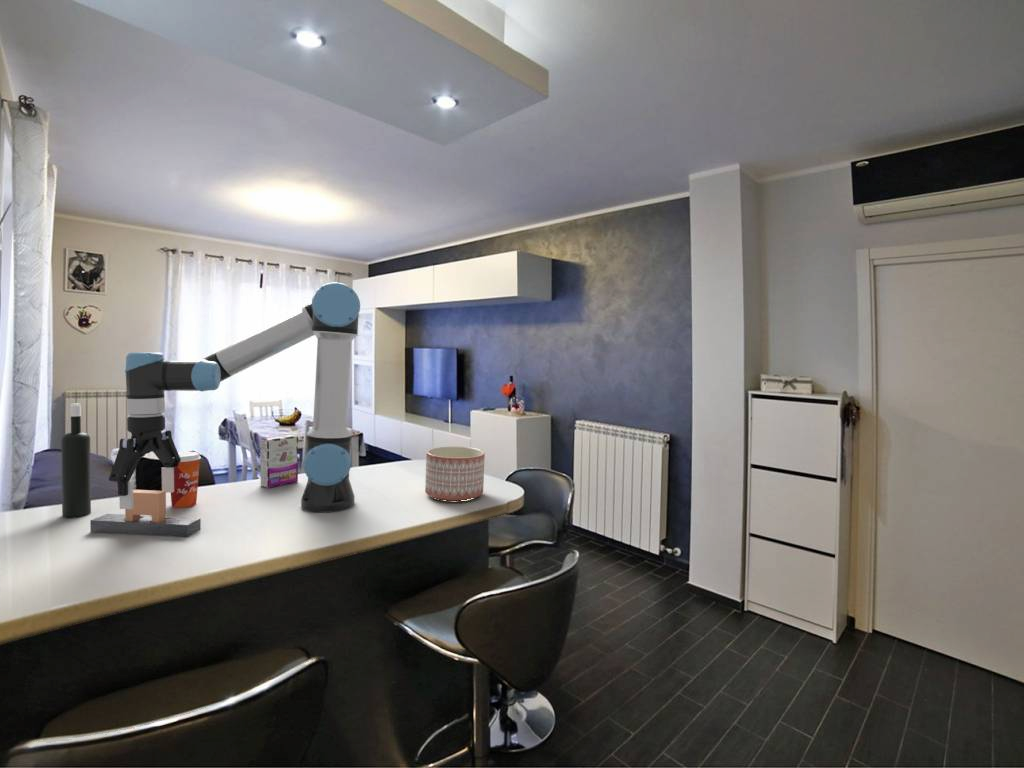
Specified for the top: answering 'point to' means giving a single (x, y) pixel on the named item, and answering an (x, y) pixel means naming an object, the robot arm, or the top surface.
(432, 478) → the planter
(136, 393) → the robot arm
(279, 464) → the candy bar box
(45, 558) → the top surface
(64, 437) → the wine bottle
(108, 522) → the rail
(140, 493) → the clip
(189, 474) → the coffee cup
